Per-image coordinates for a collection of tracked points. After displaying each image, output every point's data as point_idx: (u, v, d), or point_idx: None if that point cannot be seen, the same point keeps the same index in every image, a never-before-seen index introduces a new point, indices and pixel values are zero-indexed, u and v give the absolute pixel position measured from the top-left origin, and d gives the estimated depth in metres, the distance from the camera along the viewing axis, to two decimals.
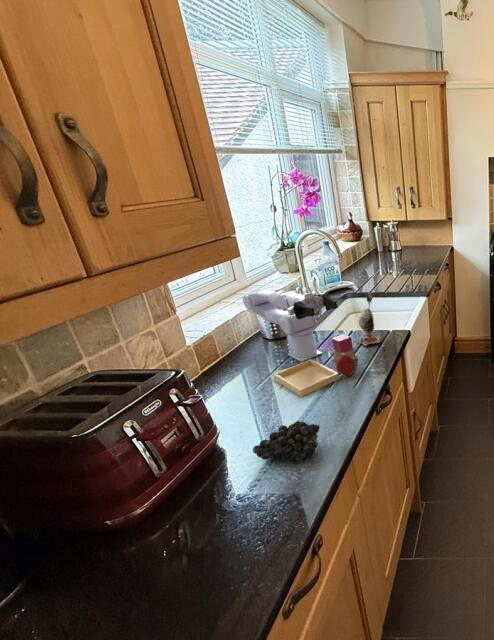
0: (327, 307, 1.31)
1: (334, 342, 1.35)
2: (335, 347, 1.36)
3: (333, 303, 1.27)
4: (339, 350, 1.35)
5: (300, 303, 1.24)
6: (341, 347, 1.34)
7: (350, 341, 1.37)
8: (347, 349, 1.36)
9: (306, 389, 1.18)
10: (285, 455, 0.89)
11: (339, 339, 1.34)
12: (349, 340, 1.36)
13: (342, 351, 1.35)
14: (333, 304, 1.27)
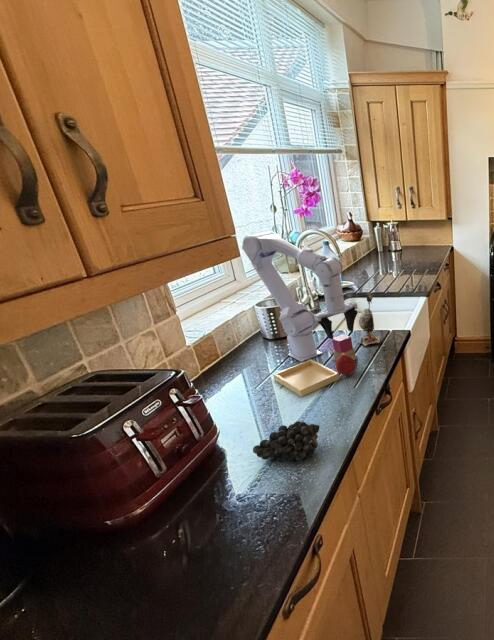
0: (345, 315, 1.37)
1: (334, 342, 1.35)
2: (335, 347, 1.36)
3: (350, 329, 1.37)
4: (339, 350, 1.35)
5: (329, 324, 1.29)
6: (341, 347, 1.34)
7: (350, 341, 1.37)
8: (347, 349, 1.36)
9: (306, 389, 1.18)
10: (285, 455, 0.89)
11: (339, 339, 1.34)
12: (349, 340, 1.36)
13: (342, 351, 1.35)
14: (349, 328, 1.38)
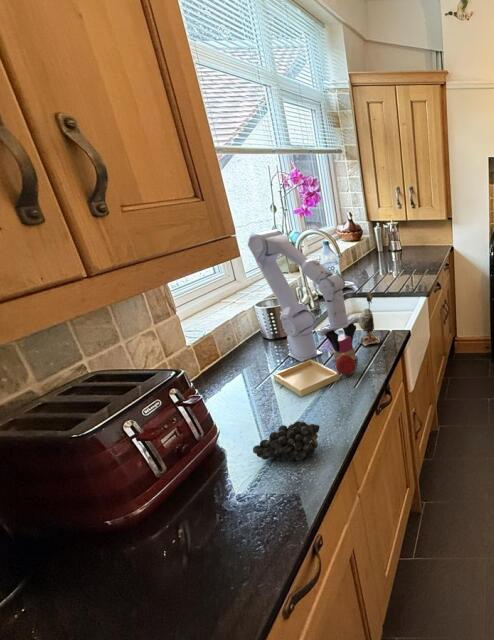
0: (344, 330, 1.38)
1: None
2: None
3: None
4: (339, 350, 1.35)
5: (336, 337, 1.32)
6: (341, 347, 1.34)
7: (350, 341, 1.37)
8: (347, 349, 1.36)
9: (306, 389, 1.18)
10: (285, 455, 0.89)
11: (339, 339, 1.34)
12: (349, 340, 1.36)
13: (342, 351, 1.35)
14: None
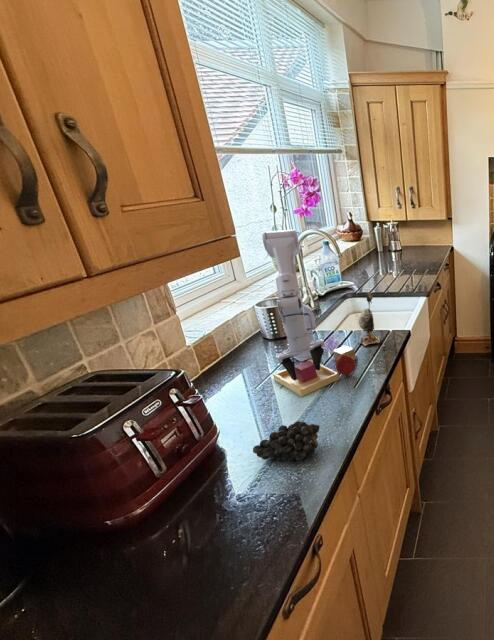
0: (311, 353, 1.28)
1: (296, 370, 1.24)
2: (297, 375, 1.25)
3: (317, 368, 1.28)
4: (301, 379, 1.24)
5: (292, 365, 1.20)
6: (303, 376, 1.23)
7: (314, 369, 1.26)
8: (310, 378, 1.25)
9: (306, 389, 1.18)
10: (285, 455, 0.89)
11: (301, 368, 1.23)
12: (312, 368, 1.25)
13: (304, 380, 1.24)
14: (316, 367, 1.28)
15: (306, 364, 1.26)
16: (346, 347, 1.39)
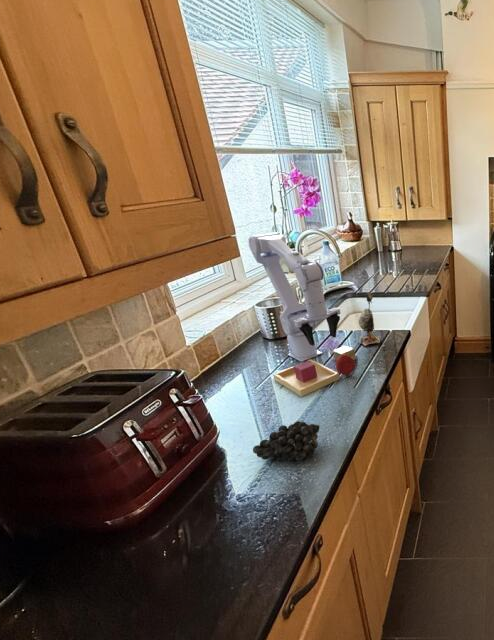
0: (327, 321, 1.33)
1: (296, 370, 1.24)
2: (297, 375, 1.25)
3: (333, 335, 1.34)
4: (301, 379, 1.24)
5: (310, 330, 1.25)
6: (303, 376, 1.23)
7: (314, 369, 1.26)
8: (310, 378, 1.25)
9: (306, 389, 1.18)
10: (285, 455, 0.89)
11: (301, 368, 1.23)
12: (312, 368, 1.25)
13: (304, 380, 1.24)
14: (332, 334, 1.34)
15: (306, 364, 1.26)
16: (346, 347, 1.39)
